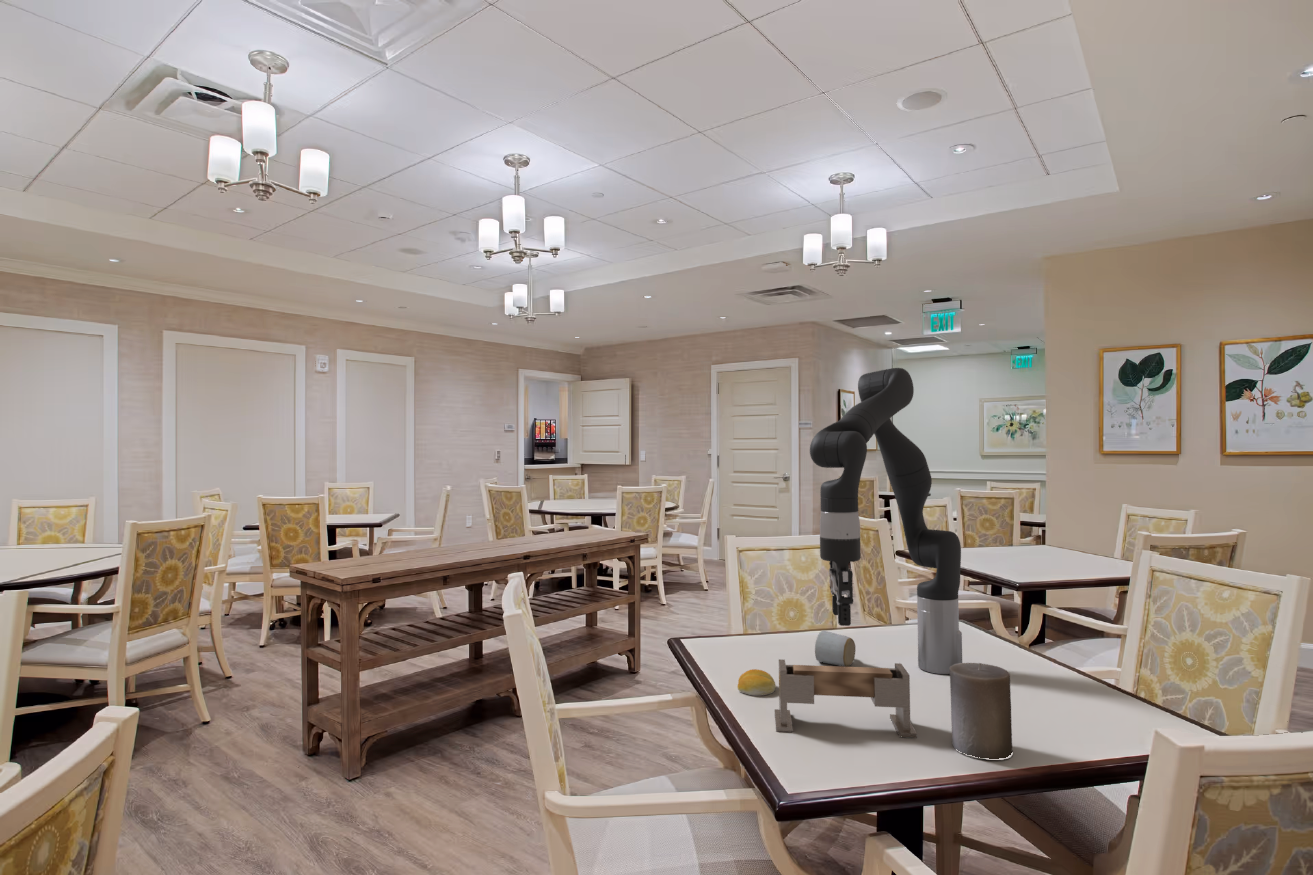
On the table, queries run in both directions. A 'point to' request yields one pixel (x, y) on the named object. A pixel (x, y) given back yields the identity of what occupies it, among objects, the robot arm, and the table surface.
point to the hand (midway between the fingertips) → (841, 619)
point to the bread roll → (756, 683)
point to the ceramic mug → (834, 649)
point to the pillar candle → (981, 710)
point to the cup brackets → (885, 695)
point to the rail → (843, 679)
